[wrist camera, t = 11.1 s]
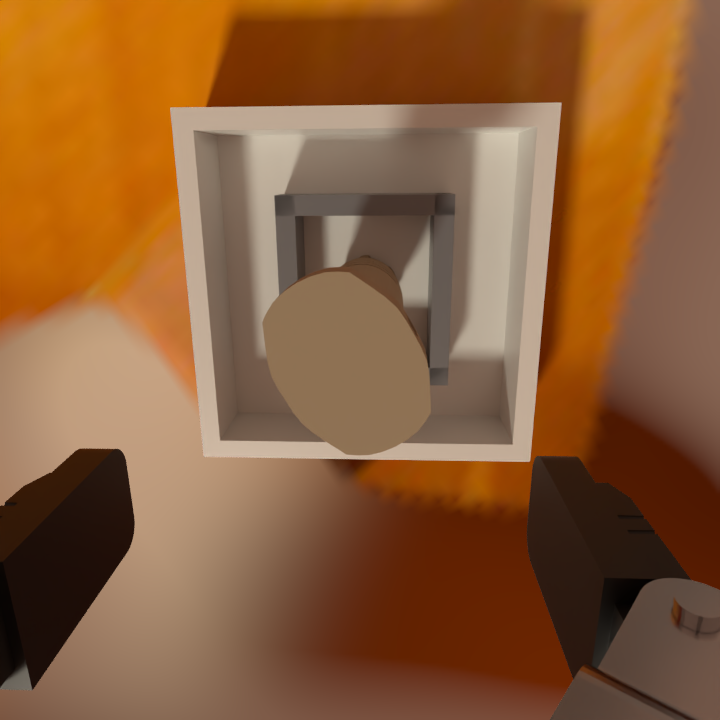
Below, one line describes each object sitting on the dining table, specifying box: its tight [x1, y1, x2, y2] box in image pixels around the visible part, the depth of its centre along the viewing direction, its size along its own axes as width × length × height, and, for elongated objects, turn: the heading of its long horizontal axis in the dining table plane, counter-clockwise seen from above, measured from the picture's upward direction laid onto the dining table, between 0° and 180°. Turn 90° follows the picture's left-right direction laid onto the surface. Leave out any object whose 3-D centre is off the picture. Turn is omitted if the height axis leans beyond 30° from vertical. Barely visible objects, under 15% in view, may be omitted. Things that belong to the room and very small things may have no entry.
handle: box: [262, 255, 431, 455], centre depth 26 cm, size 5×6×15 cm
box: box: [170, 103, 562, 462], centre depth 32 cm, size 18×18×5 cm
